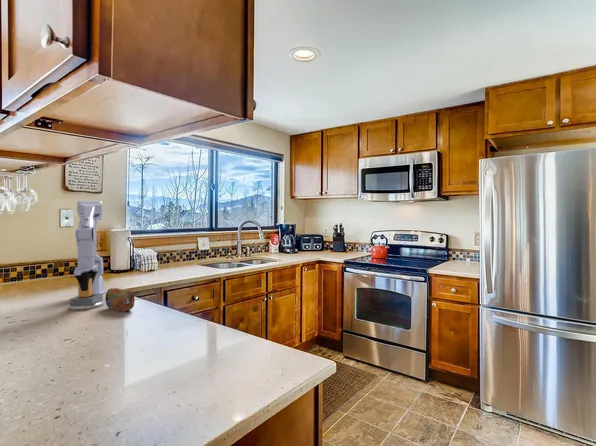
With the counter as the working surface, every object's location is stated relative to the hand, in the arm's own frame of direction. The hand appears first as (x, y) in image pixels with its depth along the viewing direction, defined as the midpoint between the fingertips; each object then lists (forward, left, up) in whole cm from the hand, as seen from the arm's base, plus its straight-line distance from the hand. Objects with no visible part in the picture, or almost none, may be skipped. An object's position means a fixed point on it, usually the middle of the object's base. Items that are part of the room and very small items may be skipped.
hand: (86, 289), depth 138 cm
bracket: (0, 0, -7) cm, 7 cm away
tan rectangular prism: (0, 0, -2) cm, 3 cm away
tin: (+7, +16, -7) cm, 19 cm away
